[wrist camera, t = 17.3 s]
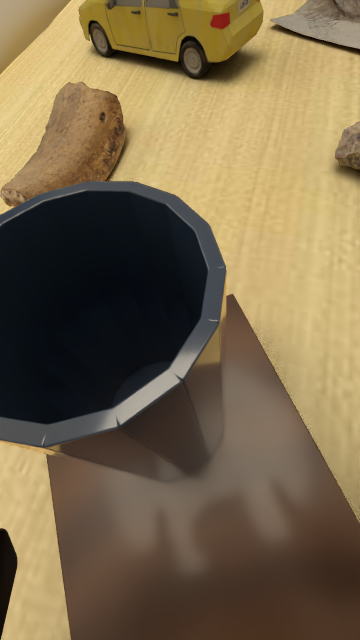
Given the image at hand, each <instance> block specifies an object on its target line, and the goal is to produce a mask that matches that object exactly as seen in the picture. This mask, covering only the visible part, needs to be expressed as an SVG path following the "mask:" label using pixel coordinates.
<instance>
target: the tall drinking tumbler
mask: <svg viewBox="0 0 360 640" xmlns="http://www.w3.org/2000/svg"><path fill="white" fill-rule="evenodd" d="M226 280H227V270H226V265H225V263H224V260H223V258H222V255H221V252H220V250H219V247H218V245H217V242H216V239H215V237H214V234H213V232H212V229H211V227H210V225H209V224H208V223H207V222H206V221H205V220H204V219H203V218H202V217H200V216H199V215H198V214H197V213H196V212H195V211H194V210H193V209H191V208H190V207H189V206H188V205H187V204H186V203H185V202H183V201H182V200H181V199H180V198H179V197H178V196H176V195H174V194H171V193H168V192H165V191H162V190H159V189H156V188H153V187H150V186H147V185H144V184H141V183H138V182H133V181H89V182H87V181H86V182H82V183H78V184H75V185H71V186H67V187H63V188H59V189H55V190H51V191H47V192H44V193H41V194H38V195H37V196H35V197H33V198H31V199H29V200H27V201H25V202H23V203H22V204H20V205H18V206H16V207H14V208H12V209H10V210H8V211H7V212H5V213H3V214H1V215H0V442H1V443H5V444H9V445H13V446H17V447H21V448H24V449H28V450H32V451H36V452H40V453H44V454H48V455H52V456H56V457H60V458H64V459H68V460H72V461H76V462H80V463H84V464H88V465H92V466H96V467H99V468H103V469H107V470H111V471H115V472H119V473H123V474H127V475H131V476H135V477H139V478H144V479H150V480H155V481H160V482H165V481H171V480H176V479H180V478H183V477H186V476H188V475H190V474H192V473H194V472H195V471H197V470H198V469H199V468H201V467H202V466H203V465H204V464H205V463H206V462H207V461H208V460H209V459H210V458H211V456H212V455H213V454H214V452H215V450H216V449H217V447H218V445H219V443H220V440H221V438H222V436H223V432H224V424H225V412H226Z"/></svg>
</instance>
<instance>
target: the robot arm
mask: <svg viewBox="0 0 360 640" xmlns="http://www.w3.org/2000/svg"><path fill="white" fill-rule="evenodd" d="M16 570H17V555H16V552H15V550H14V547H13V545H12V542H11V540H10V537H9V535H8V532H7V531H6V530H5V529H3V528H1V529H0V640H1V636H2V632H3V627H4V623H5V618H6V614H7V610H8V605H9V601H10V596H11V592H12V587H13V583H14V579H15V574H16Z"/></svg>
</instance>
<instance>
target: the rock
mask: <svg viewBox="0 0 360 640" xmlns="http://www.w3.org/2000/svg"><path fill="white" fill-rule="evenodd" d="M335 158H336V159H337V160H338V161H339V165H342V166H349V167H352V168H354V169H358V170H360V122H357V123H356V124H355V125H353V126H351V127H348V128H346V129H345V130H344V131H343V133H342V137H341V140H340V142H339V145H338V147H337V149H336V152H335Z"/></svg>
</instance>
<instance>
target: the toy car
mask: <svg viewBox="0 0 360 640" xmlns="http://www.w3.org/2000/svg"><path fill="white" fill-rule="evenodd" d="M79 14H80V17H79V21H80V24H81V27H82V29H83V31H84V36H85V39H86V40H89V41H90V38H89V35H90V37H91V40H92V43H93V45H94V47H95V48H96V50H97V51H98V52H99V53H100V54H101V55H102V56H105V57H108V56H109V55H111V54H112V53H113V52H115V50H122V51H127V52H132V53H137V54H142V55H147V56H152V57H157V58H162V59H167V60H172V61H176V62H178V59H179V55H180V58H181V63H182V66H183V68H184V70H185V72H186V73H187V74H188V75H189V76H190V77H193V78H199V77H201V76H202V75H203V74H205V73H206V72H207V71H208V70H209V68H210V65H211V62H221V61H224V60H227V59H228V58H229V57H231V56H232V55H233V54H234V53H235V52H236V51H238V50H239V49H240V48H241V47H242V46H243V45H245V44H246V43H247V42H248V41H249V40H250V39H251V38H253V37H254V36H255V35H256V34H257V32H258V30H259V28H260V26H261V24H262V22H263V8H262V5H261V2H260V0H86V1H85V2H84V3H83V4H82V5H81V6H80V7H79Z"/></svg>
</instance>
